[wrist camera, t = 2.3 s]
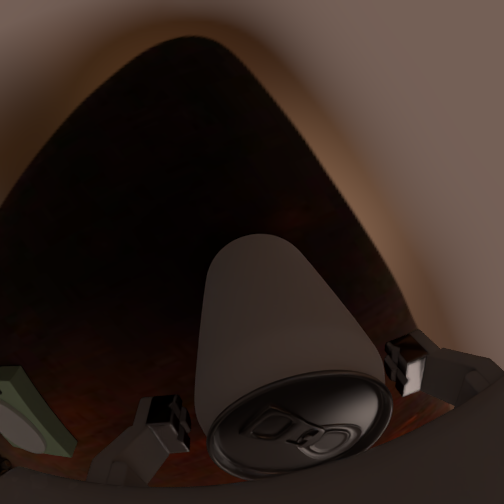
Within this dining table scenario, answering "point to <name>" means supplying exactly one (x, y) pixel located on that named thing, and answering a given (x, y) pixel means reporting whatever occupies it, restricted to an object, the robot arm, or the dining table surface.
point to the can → (282, 365)
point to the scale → (30, 417)
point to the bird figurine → (4, 467)
